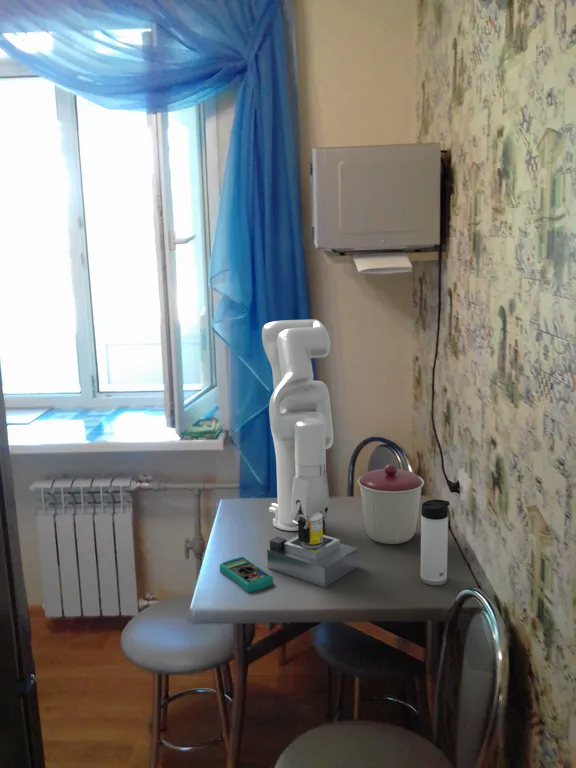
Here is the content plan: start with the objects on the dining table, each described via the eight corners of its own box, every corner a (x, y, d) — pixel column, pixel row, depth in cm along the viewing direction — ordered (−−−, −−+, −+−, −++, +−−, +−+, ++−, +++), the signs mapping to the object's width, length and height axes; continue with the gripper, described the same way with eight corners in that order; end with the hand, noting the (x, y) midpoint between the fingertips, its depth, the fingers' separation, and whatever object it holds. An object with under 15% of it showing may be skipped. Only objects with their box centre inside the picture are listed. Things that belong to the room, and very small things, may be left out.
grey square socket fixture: (267, 567, 181) (266, 540, 179) (301, 549, 191) (301, 523, 190) (324, 587, 169) (324, 558, 168) (357, 566, 180) (357, 539, 178)
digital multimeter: (249, 595, 167) (248, 583, 167) (218, 572, 180) (218, 561, 179) (275, 586, 171) (274, 575, 171) (243, 565, 184) (243, 554, 183)
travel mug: (448, 586, 168) (450, 506, 164) (420, 585, 169) (421, 505, 166) (447, 574, 174) (449, 497, 170) (420, 573, 175) (421, 496, 172)
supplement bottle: (298, 541, 181) (297, 503, 179) (318, 538, 183) (318, 501, 181) (305, 550, 176) (304, 511, 174) (326, 547, 177) (325, 508, 175)
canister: (351, 546, 192) (350, 471, 188) (365, 521, 209) (365, 453, 205) (418, 554, 186) (418, 477, 182) (427, 528, 203) (428, 457, 199)
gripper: (319, 458, 184) (320, 523, 188) (276, 475, 171) (278, 545, 175) (342, 463, 179) (343, 530, 183) (301, 481, 166) (302, 553, 170)
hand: (311, 537), depth 179 cm, fingers closed on supplement bottle, 5 cm apart
